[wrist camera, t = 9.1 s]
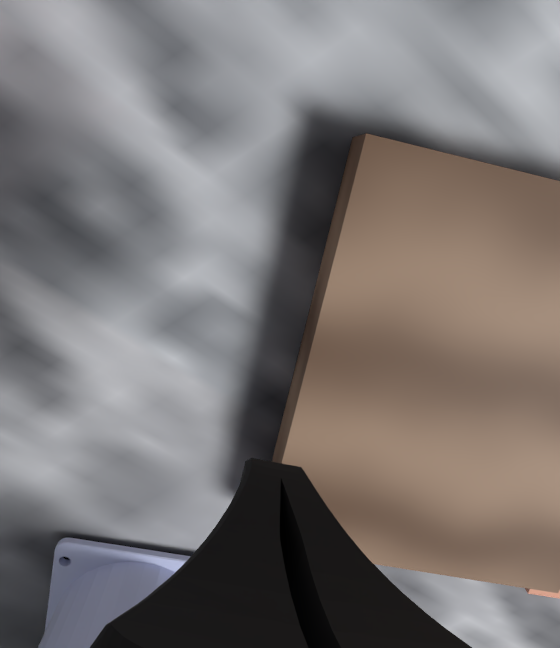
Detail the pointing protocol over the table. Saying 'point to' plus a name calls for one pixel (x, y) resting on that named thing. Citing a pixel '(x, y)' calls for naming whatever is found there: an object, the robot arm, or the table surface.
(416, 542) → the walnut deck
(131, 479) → the table surface
